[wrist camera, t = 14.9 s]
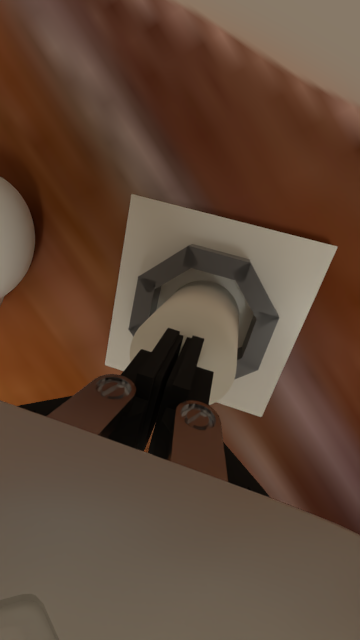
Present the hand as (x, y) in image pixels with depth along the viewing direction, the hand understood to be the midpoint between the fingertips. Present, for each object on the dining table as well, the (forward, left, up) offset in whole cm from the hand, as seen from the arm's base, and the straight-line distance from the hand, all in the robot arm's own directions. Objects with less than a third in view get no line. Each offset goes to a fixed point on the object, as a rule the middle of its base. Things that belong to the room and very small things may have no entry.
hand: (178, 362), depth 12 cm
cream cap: (0, 0, -7) cm, 7 cm away
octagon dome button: (0, 0, -9) cm, 9 cm away
